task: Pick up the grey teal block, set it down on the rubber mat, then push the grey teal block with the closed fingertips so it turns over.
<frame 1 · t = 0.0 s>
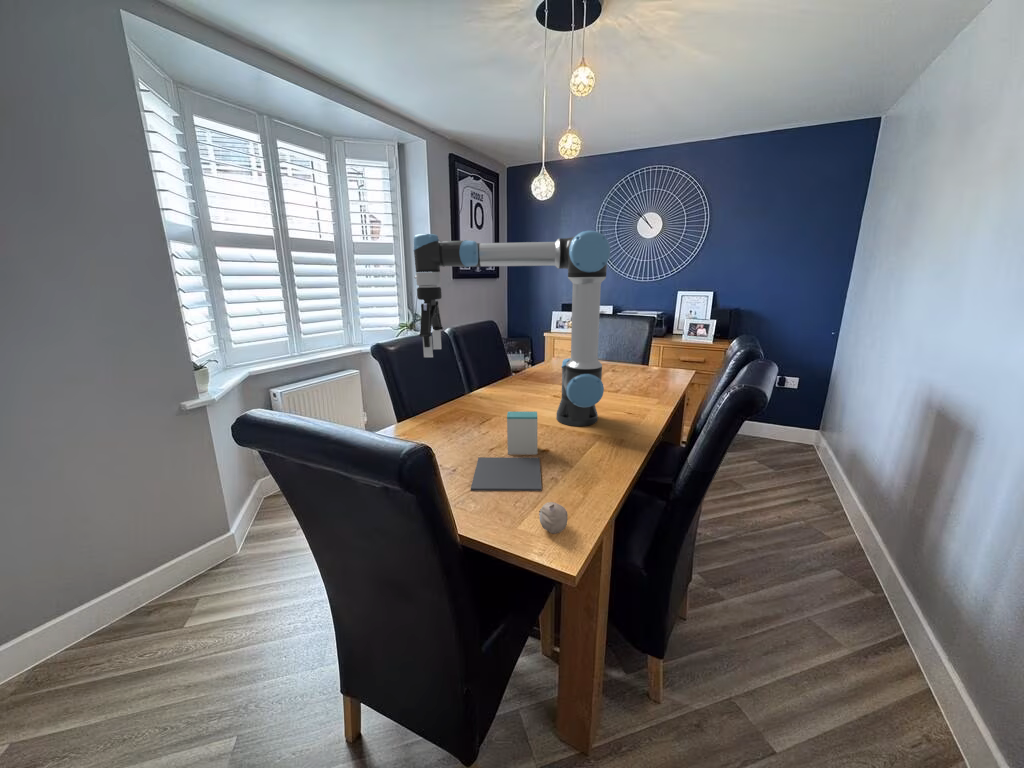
hand: (433, 353, 135), 28 cm above the table, fingers open, 13 cm apart
garlic bulb: (553, 530, 89), on the table
grey teal block: (522, 450, 128), on the table
rubber mat: (507, 473, 113), on the table
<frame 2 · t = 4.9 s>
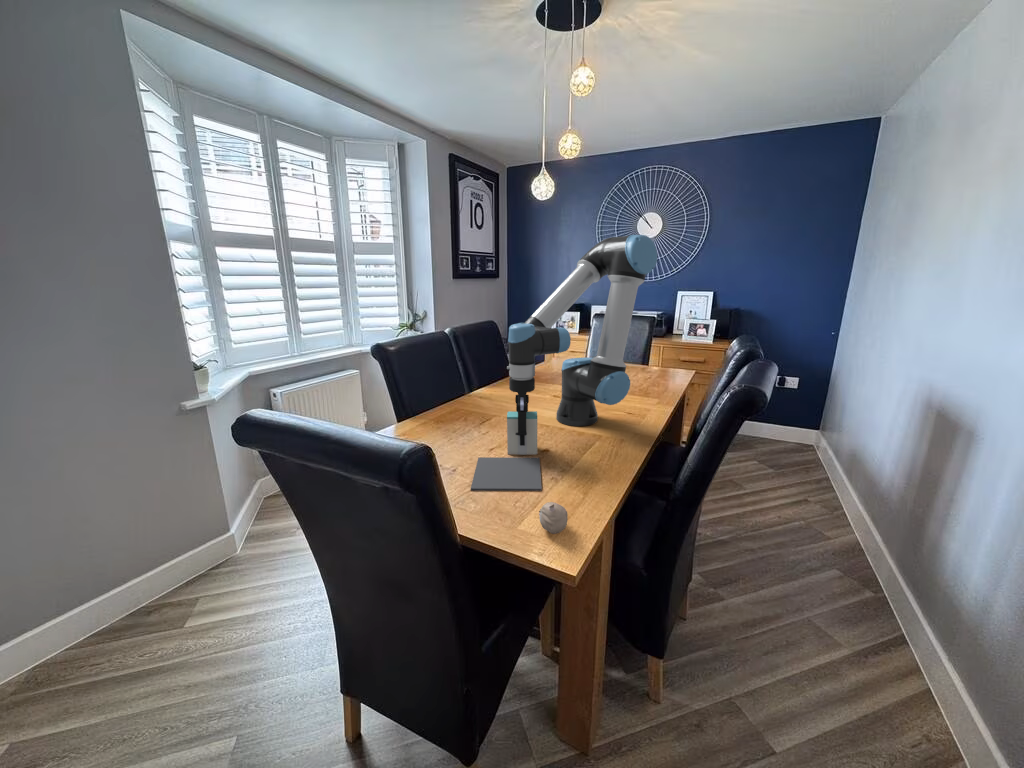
hand: (522, 449, 127), 0 cm above the table, fingers closed on grey teal block, 5 cm apart
grey teal block: (522, 450, 127), on the table, touching gripper
everything else where it was.
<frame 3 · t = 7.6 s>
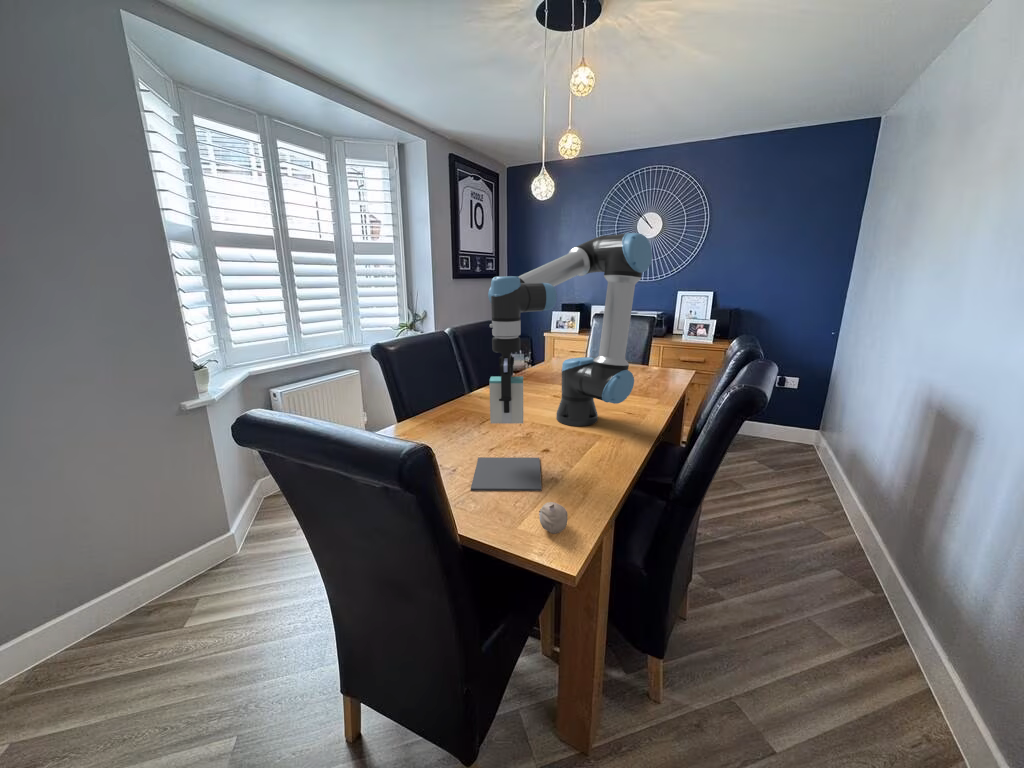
hand: (507, 419, 115), 14 cm above the table, fingers closed on grey teal block, 5 cm apart
grey teal block: (507, 420, 115), point 13 cm above the table, touching gripper
everything else where it was.
when the fingers open (2 cm above the table, at t = 10.3 s): grey teal block stays where it is, resting on rubber mat.
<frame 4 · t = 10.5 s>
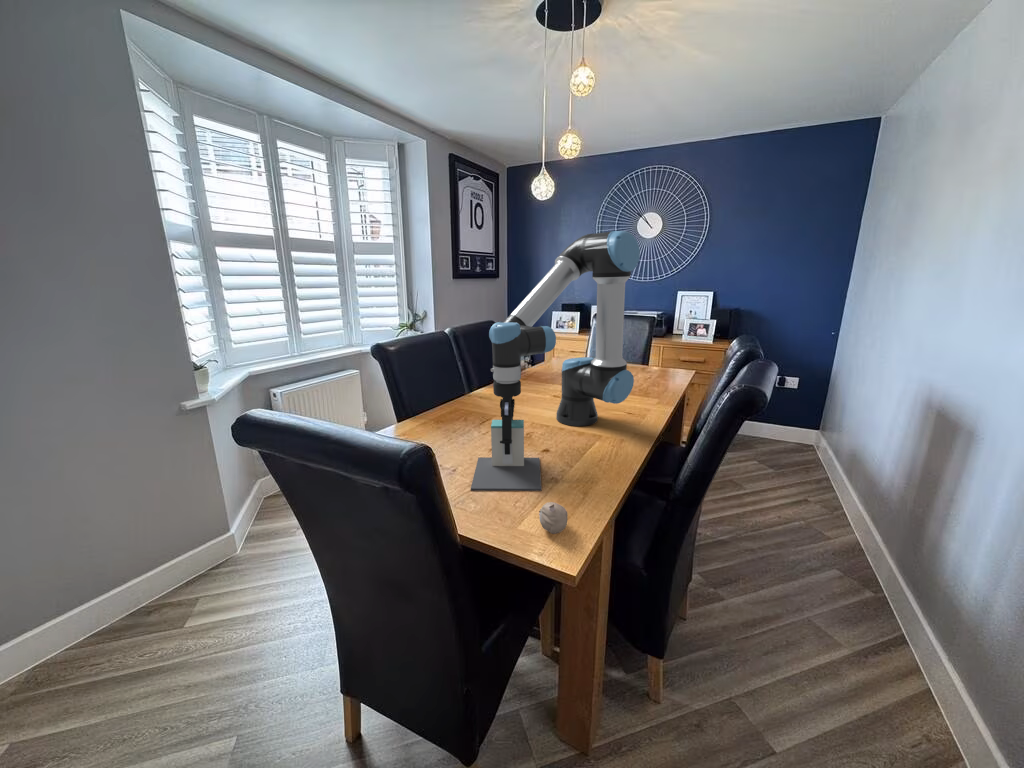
hand: (508, 456, 118), 2 cm above the table, fingers open, 8 cm apart
grey teal block: (508, 462, 119), point 1 cm above the table, touching rubber mat
everything else where it was.
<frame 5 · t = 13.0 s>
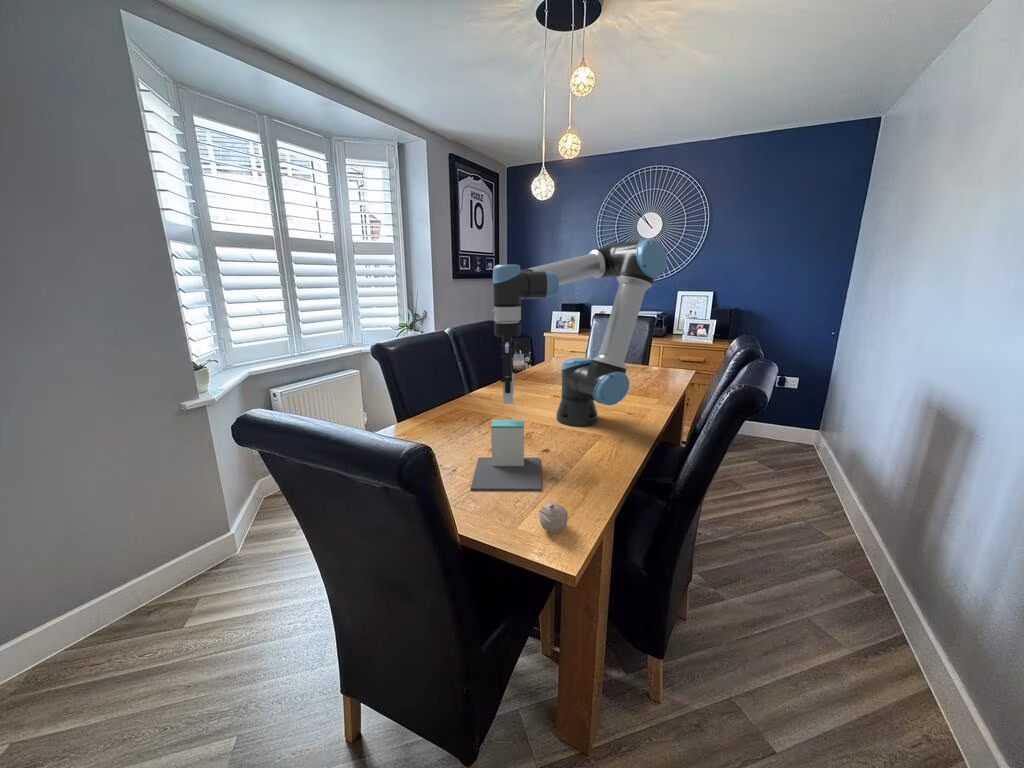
hand: (508, 398, 122), 17 cm above the table, fingers open, 9 cm apart
nothing on the table moved.
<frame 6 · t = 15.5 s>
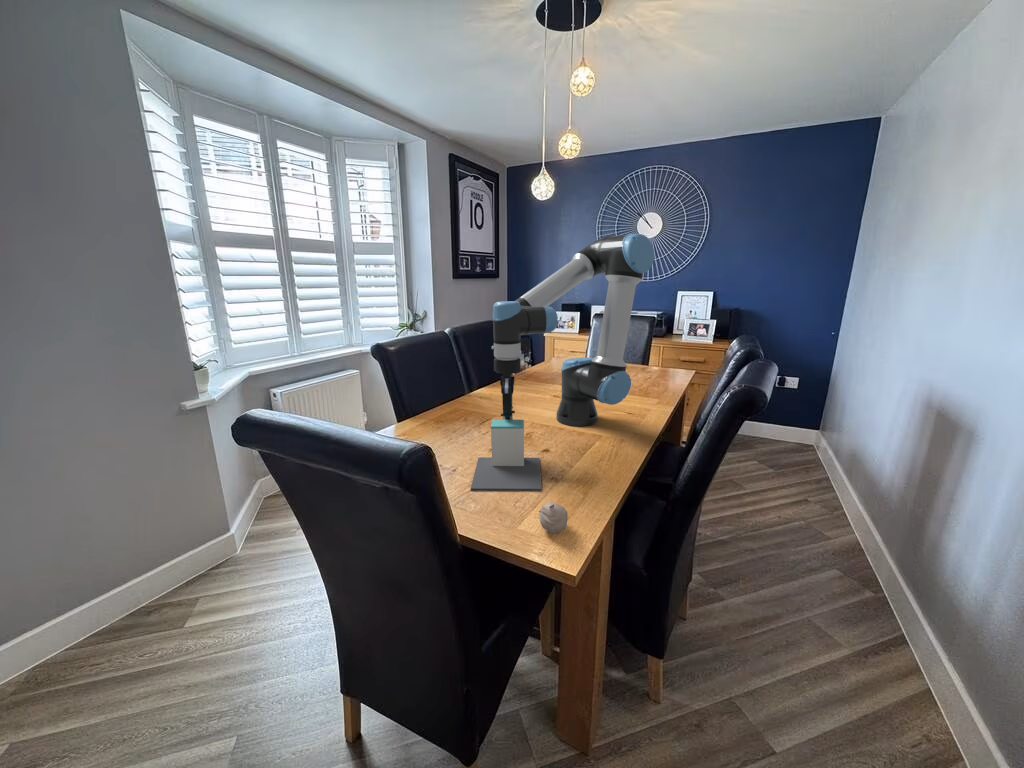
hand: (508, 435, 122), 7 cm above the table, fingers closed
grey teal block: (508, 461, 119), point 1 cm above the table, touching gripper, rubber mat
everything else where it was.
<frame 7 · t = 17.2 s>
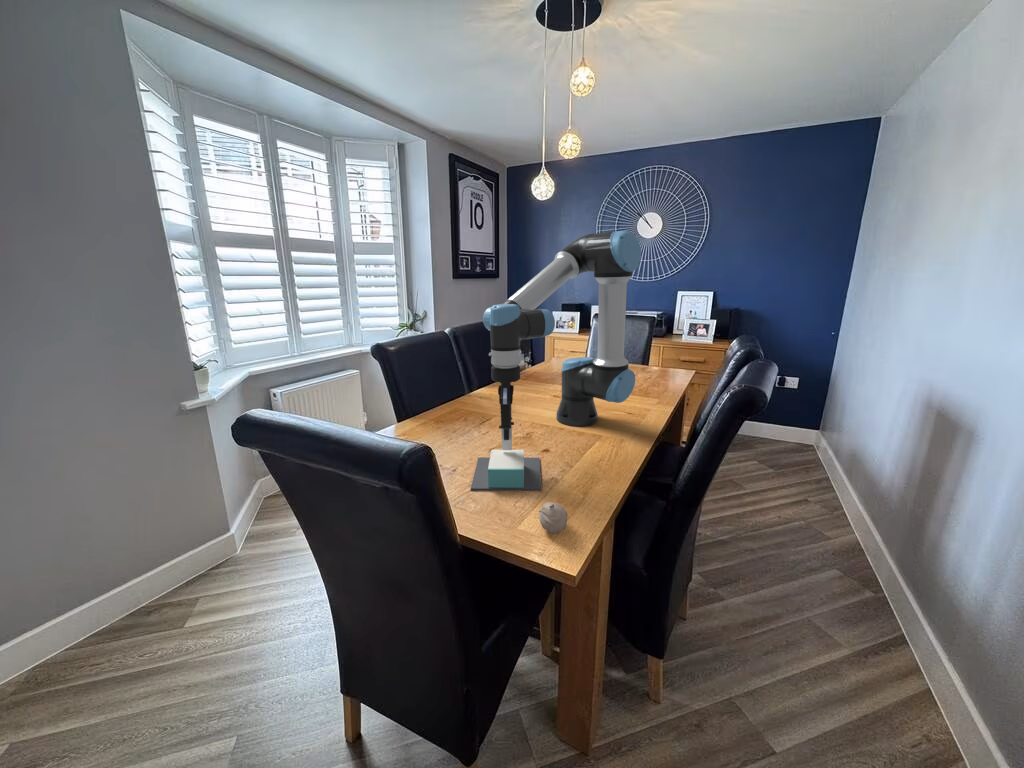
hand: (506, 449, 113), 7 cm above the table, fingers closed
grey teal block: (507, 457, 116), point 3 cm above the table, tilted 90°, touching rubber mat
everything else where it was.
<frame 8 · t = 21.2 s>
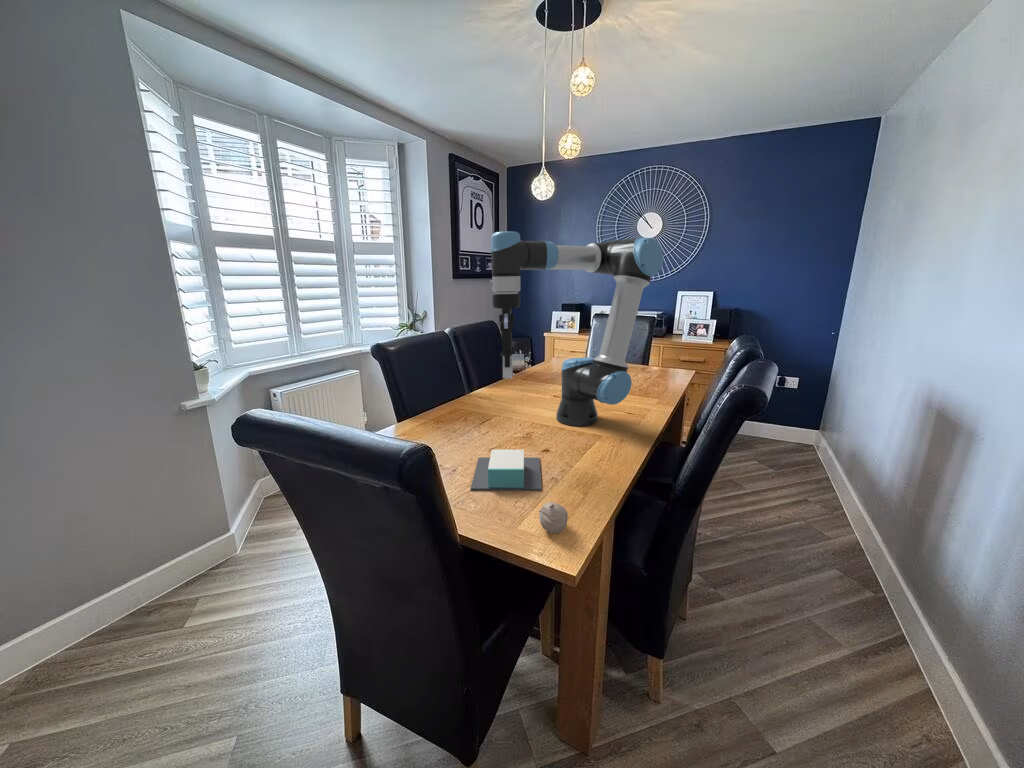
hand: (507, 377, 117), 24 cm above the table, fingers closed
nothing on the table moved.
at the end: grey teal block tilted 90°; grey teal block inside the target area (4.5 cm from its centre), point 3.1 cm above the table; the gripper is holding nothing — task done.
